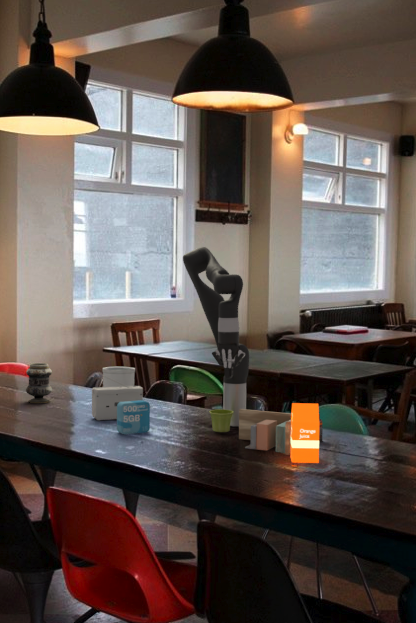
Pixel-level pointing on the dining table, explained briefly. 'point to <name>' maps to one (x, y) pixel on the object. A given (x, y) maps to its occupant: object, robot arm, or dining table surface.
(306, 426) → the orange juice
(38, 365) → the stone urn vase
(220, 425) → the plant pot
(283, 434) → the teal book
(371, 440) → the dining table surface
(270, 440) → the tan rectangular block
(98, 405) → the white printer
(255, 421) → the rack
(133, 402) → the data package
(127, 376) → the utensil holder
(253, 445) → the bookend
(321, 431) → the supplement bottle
